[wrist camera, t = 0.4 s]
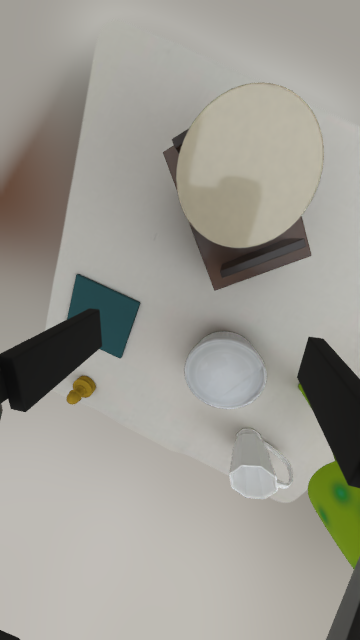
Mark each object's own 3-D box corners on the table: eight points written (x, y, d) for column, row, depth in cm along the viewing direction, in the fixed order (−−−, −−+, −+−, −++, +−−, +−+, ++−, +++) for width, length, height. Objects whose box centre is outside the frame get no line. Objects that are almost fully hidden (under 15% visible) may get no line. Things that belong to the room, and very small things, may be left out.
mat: (66, 330, 40) (64, 332, 40) (78, 273, 36) (76, 274, 36) (121, 357, 40) (120, 358, 39) (140, 302, 36) (139, 303, 35)
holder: (183, 179, 29) (142, 125, 15) (254, 141, 26) (283, 30, 12) (218, 275, 32) (210, 304, 18) (285, 250, 29) (336, 260, 15)
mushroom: (300, 351, 33) (462, 609, 10) (349, 381, 33) (624, 709, 10) (264, 390, 36) (324, 651, 13) (309, 417, 36) (447, 726, 13)
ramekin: (250, 395, 37) (253, 419, 32) (184, 378, 39) (178, 398, 34) (271, 334, 33) (278, 350, 28) (196, 317, 35) (191, 330, 30)
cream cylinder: (188, 183, 20) (154, 136, 11) (265, 142, 18) (302, 41, 9) (214, 255, 22) (204, 267, 12) (287, 225, 20) (339, 213, 10)
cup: (234, 416, 39) (236, 458, 32) (293, 435, 38) (309, 482, 31) (223, 445, 42) (222, 489, 34) (278, 463, 41) (289, 513, 33)
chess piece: (92, 396, 44) (77, 414, 40) (75, 387, 45) (57, 404, 40) (97, 381, 43) (82, 399, 38) (79, 372, 43) (61, 388, 38)
